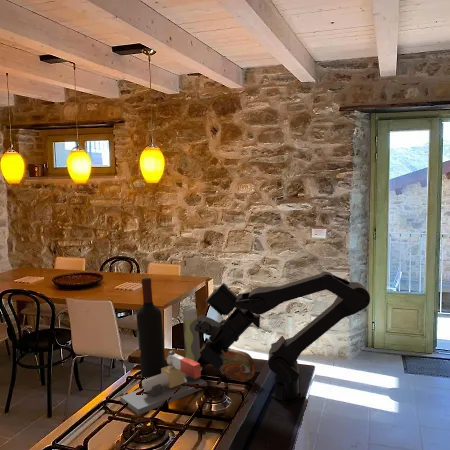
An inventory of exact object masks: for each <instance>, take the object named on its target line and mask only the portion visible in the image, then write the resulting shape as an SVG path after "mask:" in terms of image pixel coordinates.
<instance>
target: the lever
mask: <svg viewBox="0 0 450 450" xmlns="http://www.w3.org/2000/svg"><path fill="white" fill-rule="evenodd" d="M167 355H168V356H166V365H167V366H169V365H172V366H174V367H176V368H178V369H180V370H181V372H183V373H185V374H187V375H189V376H191V377H193V378H194V379H195V378H198V377H200V378H201V377H202V371H201V369H200V363H197V362H195V361H193V360H191V359H189V358H187V357H186V358H185V356H182V355H179V354H177V353H176V351H175V350H172V349H171V350H169V351H168V352H167Z"/></svg>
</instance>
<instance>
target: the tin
mask: <svg viewBox="0 0 450 450" xmlns="http://www.w3.org/2000/svg"><path fill="white" fill-rule="evenodd" d="M222 351H223V350H222ZM223 354H224V362H223V365H222V366H221V367H220V368H219V370H220V372H221V373H222V374H226V377H225V378H227V379H230V380H234V381H237V382H239V383H245V382H247V381H249V380H251V379H252V378H253V377H254V376H255V372H256V365H255V364H256V363H255V361H254V359H253V357H252V356H251V354H249V353H248V352H246V351H243V350H239V349H235V348H230V347H229V349H228V351H227V352H226V353H225V352H224V351H223ZM222 374H221V375H222ZM221 375H220V376H221Z"/></svg>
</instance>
